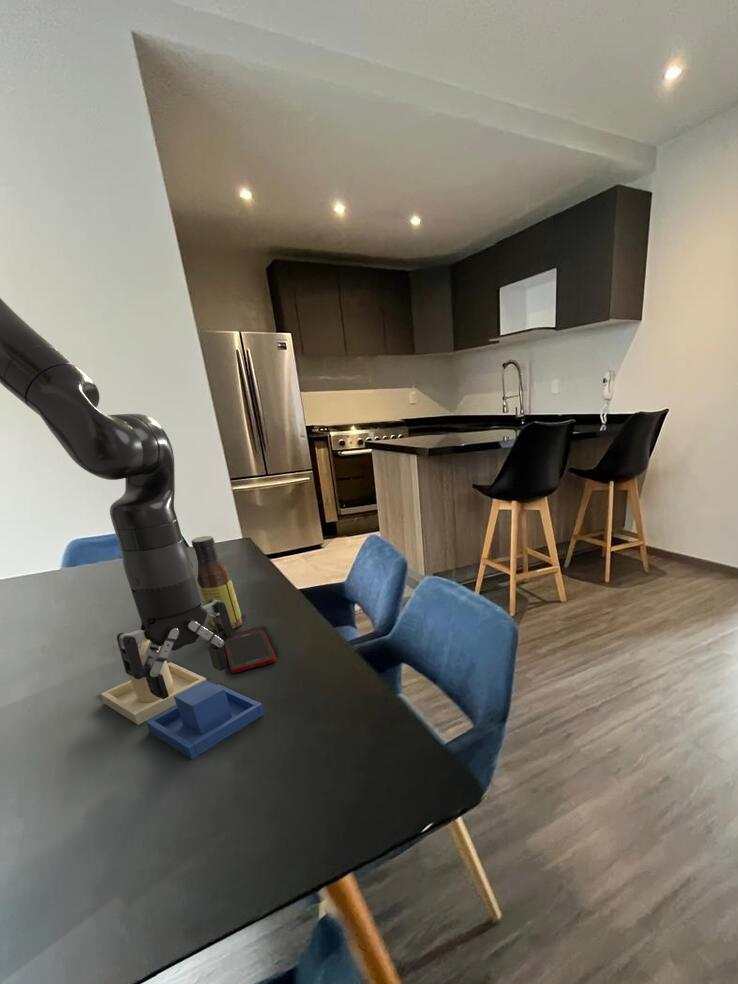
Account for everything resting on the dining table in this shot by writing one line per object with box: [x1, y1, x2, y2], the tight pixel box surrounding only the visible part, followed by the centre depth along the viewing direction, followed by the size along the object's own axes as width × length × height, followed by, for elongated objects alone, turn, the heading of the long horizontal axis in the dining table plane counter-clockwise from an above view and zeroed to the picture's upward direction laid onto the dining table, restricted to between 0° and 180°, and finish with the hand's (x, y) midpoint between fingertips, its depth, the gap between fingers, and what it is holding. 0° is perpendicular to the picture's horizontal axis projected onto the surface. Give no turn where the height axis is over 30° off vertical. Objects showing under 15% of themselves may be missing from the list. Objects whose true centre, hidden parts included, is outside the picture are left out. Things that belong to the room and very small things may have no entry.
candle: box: [128, 638, 175, 702], centre depth 80 cm, size 6×6×10 cm
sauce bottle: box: [191, 535, 243, 632], centre depth 102 cm, size 6×6×20 cm
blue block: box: [174, 680, 232, 735], centre depth 73 cm, size 5×5×5 cm
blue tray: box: [145, 683, 265, 760], centre depth 73 cm, size 12×12×2 cm
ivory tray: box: [100, 662, 208, 726], centre depth 81 cm, size 12×12×2 cm
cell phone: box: [224, 629, 277, 674], centre depth 94 cm, size 8×15×1 cm, turn 28°
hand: (192, 682), depth 71 cm, fingers open, 8 cm apart
